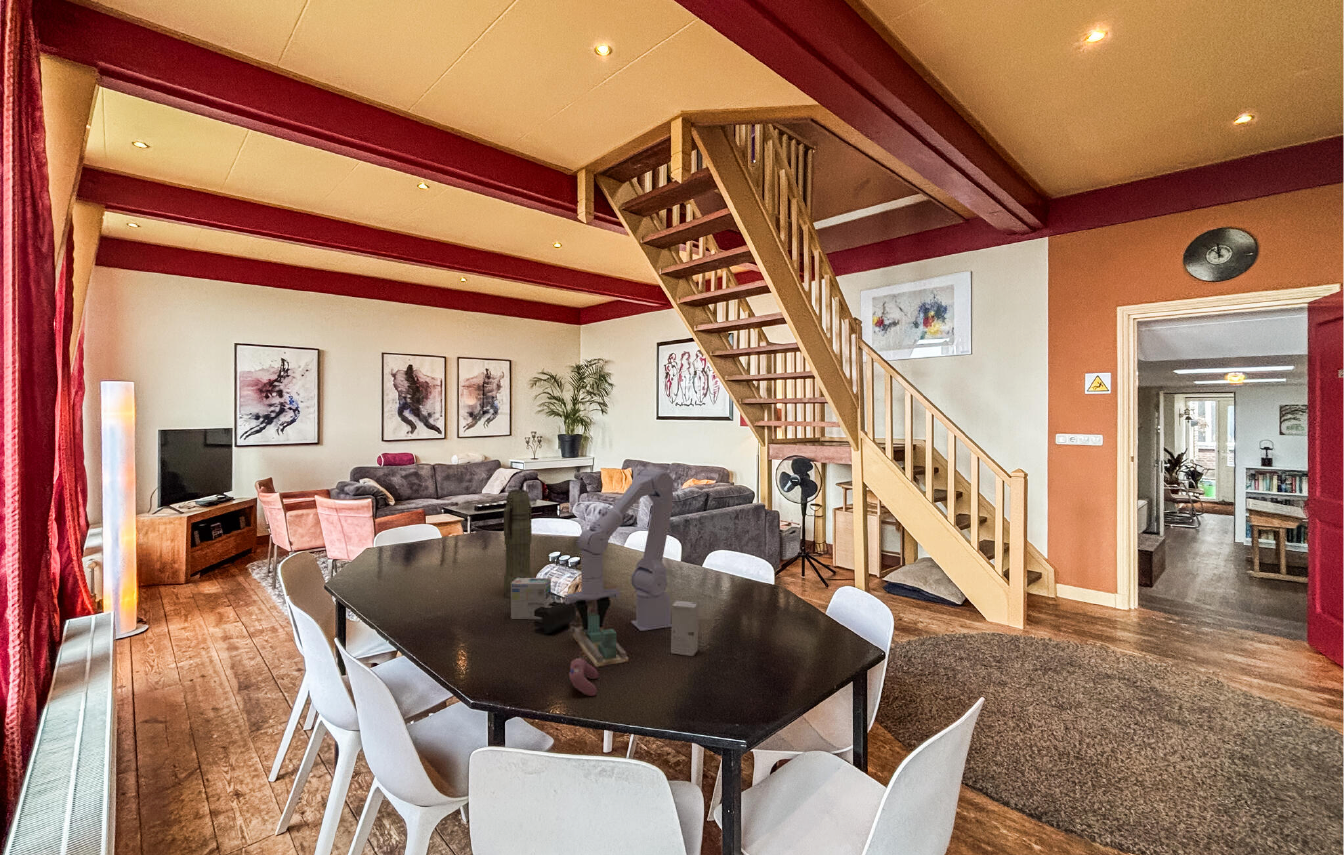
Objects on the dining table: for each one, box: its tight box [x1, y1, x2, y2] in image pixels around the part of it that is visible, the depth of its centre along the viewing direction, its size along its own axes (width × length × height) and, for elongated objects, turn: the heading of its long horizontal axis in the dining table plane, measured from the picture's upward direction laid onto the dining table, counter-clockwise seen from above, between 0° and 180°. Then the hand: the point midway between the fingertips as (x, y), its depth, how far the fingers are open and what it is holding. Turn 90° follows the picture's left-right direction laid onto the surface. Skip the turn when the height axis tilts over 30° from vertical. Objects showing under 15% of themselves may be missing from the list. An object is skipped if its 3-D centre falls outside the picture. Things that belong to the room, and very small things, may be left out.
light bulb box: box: [510, 577, 552, 620], centre depth 178 cm, size 11×7×11 cm, turn 88°
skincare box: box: [670, 600, 700, 657], centre depth 149 cm, size 6×4×12 cm
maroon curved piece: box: [568, 656, 599, 697], centre depth 129 cm, size 10×5×7 cm, turn 5°
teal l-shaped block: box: [585, 612, 601, 643], centre depth 156 cm, size 5×3×6 cm, turn 24°
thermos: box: [503, 489, 533, 599], centre depth 200 cm, size 9×12×35 cm
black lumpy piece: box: [533, 601, 577, 635], centre depth 167 cm, size 10×7×7 cm
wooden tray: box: [572, 626, 629, 668], centre depth 152 cm, size 8×22×7 cm, turn 24°
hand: (592, 627), depth 157 cm, fingers open, 3 cm apart
